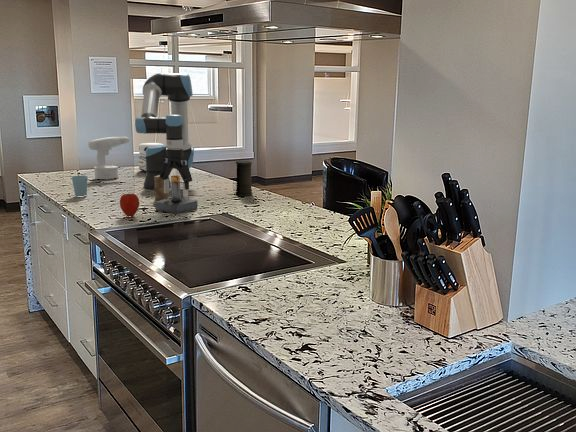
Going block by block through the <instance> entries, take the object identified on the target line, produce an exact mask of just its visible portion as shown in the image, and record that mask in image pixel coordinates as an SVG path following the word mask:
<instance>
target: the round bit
mask: <svg viewBox="0 0 576 432" xmlns="http://www.w3.org/2000/svg"><path fill="white" fill-rule="evenodd" d="M170 182H171V187H170V188H171V198H172V202H181V200H180V198H181V175H171V177H170Z"/></svg>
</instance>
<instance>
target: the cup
mask: <svg viewBox="0 0 576 432" xmlns="http://www.w3.org/2000/svg"><path fill="white" fill-rule="evenodd" d="M88 178H89V176H87V175H74V176H72V177H71V181H72V184H73V185H72V186H73V191H74V196H75V197H76V196H84V195H88Z"/></svg>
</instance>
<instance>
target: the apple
mask: <svg viewBox="0 0 576 432" xmlns="http://www.w3.org/2000/svg"><path fill="white" fill-rule="evenodd" d="M119 207H120V209H121V211H122V212H123V214H124V215H125V216H126V217H127V216H133V217H134V216H135V214H136V213H137V211H138V210H139V207H140V199H139V196H137V194H135V193H125V194H122V195H121V196H120V198H119Z"/></svg>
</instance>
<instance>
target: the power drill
mask: <svg viewBox="0 0 576 432" xmlns="http://www.w3.org/2000/svg"><path fill="white" fill-rule="evenodd" d="M129 142H130V138H129V137H128V136H109V137H108V136H107V137H101V138H96V139H92V140H89V141H88V144H87V146H88V149H90V150H91V151H96V152H97V153H96V162H97V166H93V171H94V178H95V180H97V179H106V180H115V179H114V178H117V179H118V177H119V175H118V173H119V171H118V170H119V169H118V168H119V167H118V166H116V165H107V164H106V163H107V161H106V157H107V156H109V154H110V153H109V152H110V151H111V150H112V148H116V147H119V146H121V145H125V144H128V143H129Z"/></svg>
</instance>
